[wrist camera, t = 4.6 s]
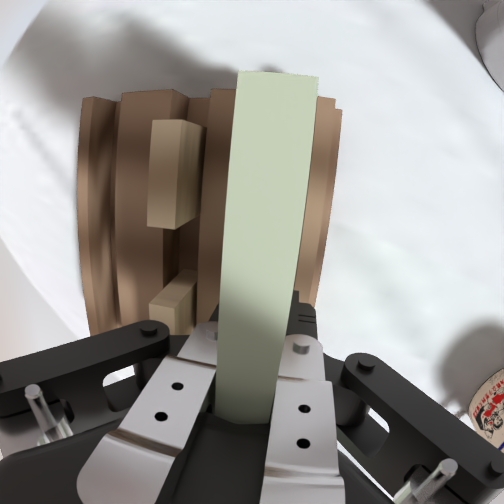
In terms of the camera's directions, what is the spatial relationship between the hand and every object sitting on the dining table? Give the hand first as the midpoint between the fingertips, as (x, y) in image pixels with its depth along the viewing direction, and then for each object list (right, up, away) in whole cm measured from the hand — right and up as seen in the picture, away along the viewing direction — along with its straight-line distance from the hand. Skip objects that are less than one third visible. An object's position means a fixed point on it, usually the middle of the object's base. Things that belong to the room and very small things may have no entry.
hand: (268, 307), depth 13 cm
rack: (-4, +4, +10) cm, 12 cm away
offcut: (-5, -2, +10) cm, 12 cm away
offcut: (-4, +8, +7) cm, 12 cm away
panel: (+1, +2, +7) cm, 7 cm away
